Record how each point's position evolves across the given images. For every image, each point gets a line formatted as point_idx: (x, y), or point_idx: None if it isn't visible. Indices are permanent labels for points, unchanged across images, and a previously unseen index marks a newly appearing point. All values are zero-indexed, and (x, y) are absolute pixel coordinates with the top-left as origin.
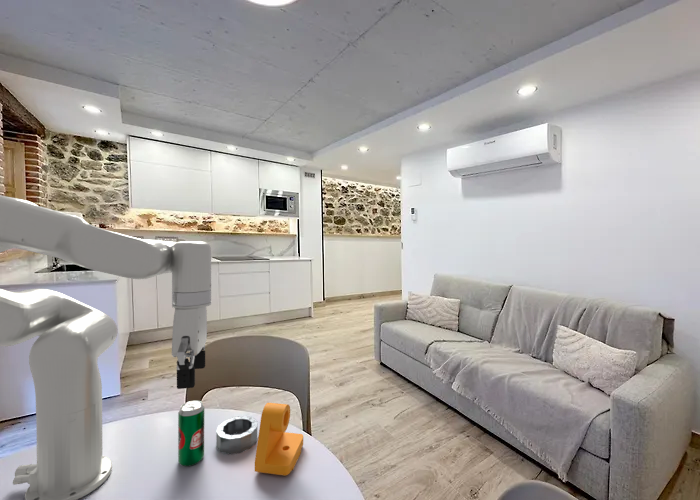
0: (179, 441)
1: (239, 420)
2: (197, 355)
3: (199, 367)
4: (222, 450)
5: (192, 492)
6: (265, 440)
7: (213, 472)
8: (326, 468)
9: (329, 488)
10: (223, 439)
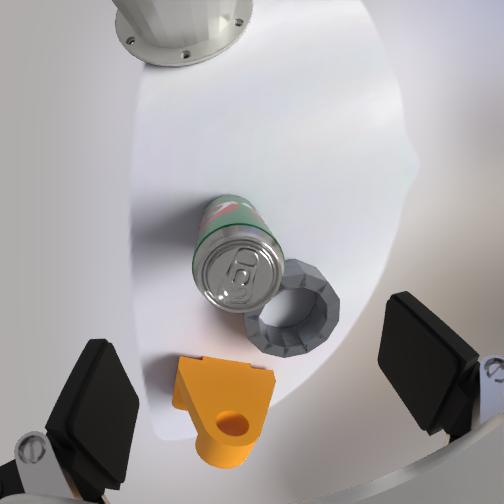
0: (206, 216)
1: (326, 311)
2: (426, 391)
3: (383, 347)
4: None
5: (135, 261)
6: (188, 406)
7: (186, 282)
8: None
9: (162, 427)
10: None
